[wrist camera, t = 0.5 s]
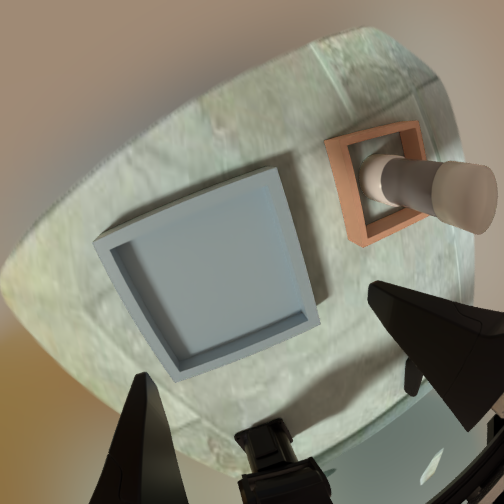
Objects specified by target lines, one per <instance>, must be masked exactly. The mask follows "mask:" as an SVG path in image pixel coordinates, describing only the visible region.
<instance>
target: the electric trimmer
mask: <svg viewBox="0 0 504 504" xmlns="http://www.w3.org/2000/svg"><path fill="white" fill-rule="evenodd" d="M422 378H423V374H422V373H421V371H420V370H419V369H418V368H417V366H416V365H415V364H414V363H413V362H412V360H411V359H410V358H409V359H408V360H407V361H406V366H405V382H404V390H405V392H406V393H408V394H409V395H410V396H412V397H414V396H416V395H417V393H418V390H419V387H420V384H421V381H422Z"/></svg>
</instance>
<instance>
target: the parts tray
mask: <svg viewBox="0 0 504 504" xmlns="http://www.w3.org/2000/svg"><path fill="white" fill-rule="evenodd" d="M92 244H93V246H94V248H95V250H96V252H97V254H98V256H99V258H100V260H101V262H102V264H103V266H104V268H105V270H106V272H107V274H108V276H109V278H110V280H111V282H112V284H113V285H114V287H115V289H116V291H117V293H118V294H119V296H120V298H121V300H122V302H123V303H124V305H125V307H126V309H127V310H128V312H129V314H130V315H131V317H132V319H133V320H134V322H135V324H136V325H137V327H138V329H139V330H140V332H141V333H142V335H143V337H144V338H145V340H146V341H147V343H148V344H149V346H150V347H151V349H152V350H153V352H154V354H155V355H156V357H157V358H158V359H159V361H160V362H161V364H162V365H163V367H164V368H165V370H166V371H167V372H168V374H169V375H170V377H171V378H172V380H173V381H174V382H175V383H176V382H179V381H182V380H185V379H188V378H191V377H194V376H197V375H200V374H202V373H205V372H208V371H211V370H214V369H216V368H219V367H222V366H224V365H227V364H230V363H232V362H235V361H237V360H240V359H242V358H245V357H247V356H250V355H252V354H255V353H257V352H260V351H262V350H264V349H267V348H269V347H272V346H274V345H276V344H279V343H281V342H283V341H285V340H288V339H290V338H292V337H294V336H297V335H299V334H301V333H303V332H305V331H307V330H310V329H312V328H314V327H316V326H318V325H320V324H321V323H320V319H319V315H318V311H317V307H316V303H315V299H314V295H313V292H312V288H311V284H310V280H309V276H308V273H307V269H306V265H305V262H304V258H303V254H302V251H301V247H300V244H299V240H298V237H297V233H296V230H295V226H294V223H293V219H292V216H291V213H290V209H289V206H288V203H287V199H286V196H285V193H284V189H283V186H282V183H281V180H280V177H279V173H278V170H277V167H270V166H266V167H263V168H260V169H257V170H254V171H251V172H248V173H246V174H243V175H240V176H237V177H234V178H232V179H229V180H226V181H224V182H221V183H218V184H216V185H213V186H210V187H208V188H205V189H203V190H200V191H198V192H195V193H193V194H190V195H188V196H185V197H183V198H180V199H178V200H175V201H173V202H171V203H168V204H166V205H163V206H161V207H159V208H156V209H154V210H152V211H149V212H147V213H145V214H143V215H140V216H138V217H136V218H134V219H131V220H129V221H127V222H125V223H123V224H121V225H118V226H116V227H114V228H112V229H110V230H108V231H106V232H104V233H101V234H100V235H99V236H98V237H97V238H96V239H95V240H94V241H93V242H92Z"/></svg>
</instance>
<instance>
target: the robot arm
mask: <svg viewBox="0 0 504 504" xmlns="http://www.w3.org/2000/svg"><path fill="white" fill-rule="evenodd" d="M367 300H368V304H369V305H370V307H371V308H372V310H373V311H374V313H375V314H376V315H377V317H378V318H379V320H380V321H381V323H382V324H383V326H384V327H385V329H386V330H387V331H388V333H389V334H390V335H391V336H392V337H393V339H394V340H395V341H396V342H397V343H398V345H399V346H400V347H401V348H402V349H403V351H404V352H405V353H406V354H407V355H408V357H409V358H410V359H411V360H412V362H413V363H414V364H415V365H416V366H417V368H418V369H419V370H420V371H421V373H422V374H423V375H424V376H425V378H426V379H427V380H428V381H429V383H430V384H431V385H432V386H433V388H434V389H435V390H436V391H437V393H438V394H439V395H440V397H441V398H442V399H443V401H444V402H445V403H446V405H447V406H448V407H449V409H451V411H452V412H453V413H454V415H455V416H456V418H457V419H458V420H459V422H460V423H461V424H462V426H463V427H464V429H465V430H466V431H467V432H469V431H470V430H471V429H472V428H473V427H474V426H475V425H476V424H477V423H478V422H479V421H480V420H481V419H482V417H483V416H484V415H485V414H486V413H487V412H488V411H489V410H490V409H492V410H493V411H494V412H495V413H496V414H495V415H494V416H493V417H492V418H491V420H490V421H489V422H488V423H487V427H488V428H487V446H486V447H485V448H484V450H482V452H481V453H480V454H479V455H478V456H477V457H476V458H475V459H474V460H473V461H472V462H471V463H470V464H469V465H468V466H467V467H466V468H465V469H464V470H463V471H462V472H461V473H460V474H459V475H458V476H457V477H456V478H455V479H454V480H453V481H452V482H451V483H449V484H448V485H447V486H446V487H445V488H444V489H443V490H441V492H439V493H438V494H437V495H436V496H434V497H433V498H432V499H431V500H429V501H428V502H427V503H426V504H461V503H462V502H463V501H465V500H467V501H468V503H467V504H504V312H498V311H493V310H488V309H483V308H478V307H473V306H469V305H465V304H461V303H458V302H454V301H453V302H452V301H450V300H447V299H443V298H440V297H436V296H433V295H429V294H426V293H422V292H419V291H415V290H411V289H408V288H404V287H401V286H397V285H394V284H390V283H386V282H383V281H379V280H377V281H375V282H372V283H371V284H370V285H369V288H368V298H367ZM234 439H235V441H236V442H237V443H238V444H239V445H240V447H241V448H242V449H243V450H244V451H245V453H246V454H247V458H248V461H249V464H250V468H251V471H252V473H251V474H243V475H242V478H243V479H241V480H239V481H238V486H239V490H240V493H241V497H242V501H243V504H333V503H332V501H331V499H330V497H331V488H330V484H329V482H328V480H327V478H326V476H325V474H324V473H323V472H322V470H321V469H320V467H319V466H318V464H317V463H316V462H315V460H314V459H313V457H309V458H308V459H305V460H301V461H298V460H297V457H296V455H295V453H294V451H293V448H292V446H291V444H290V443H292V442H293V439H292V437H291V435H290V433H289V431H288V429H287V427H286V425H285V423H284V421H283V419H277V420H274V421H272V422H269V423H267V424H264V425H261V426H259V427H256V428H253V429H251V430H248V431H245V432H242V433H239V434H236V435H235V436H234ZM108 453H109V454H108V455H107V458H106V461H105V464H104V467H103V470H102V473H101V476H100V478H99V481H98V484H97V486H96V488H95V490H94V493H93V495H92V497H91V500H90V502H89V504H189V503H188V499H187V496H186V492H185V489H184V485H183V482H182V478H181V474H180V470H179V467H178V462H177V459H176V454H175V450H174V446H173V441H172V436H171V432H170V427H169V424H168V421H167V417H166V414H165V411H164V408H163V405H162V402H161V398H160V395H159V392H158V389H157V386H156V384H155V383H154V381H153V380H152V379H151V377H150V376H149V374H148V373H147V372H142V373H139V374H136V375H135V377H134V380H133V382H132V385H131V388H130V391H129V393H128V396H127V399H126V402H125V404H124V407H123V410H122V413H121V416H120V419H119V421H118V424H117V427H116V430H115V433H114V436H113V439H112V442H111V446H110V449H109V452H108Z"/></svg>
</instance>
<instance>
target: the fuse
mask: <svg viewBox="0 0 504 504" xmlns="http://www.w3.org/2000/svg"><path fill="white" fill-rule="evenodd" d="M359 184H360V188H361V190H362V192H363V193H364V195H365V196H366V197H368V198H369V199H371V200H374V201H377V202H381V203H384V204H388V205H391V206H395V207H398V206H403V207H406V208H409V209H412V210H416V211H419V212H422V213H425V214H428V215H431V216H435V217H437V218H438V219H439V220H440V221H442V222H444V223H446V224H449V225H452V226H455V227H458V228H460V229H463V230H466V231H468V232H471V233H474V234H477V235H479V234H482V233H484V232H485V231H486V230H487V229H488V228H489V226H490V224H491V223H492V220H493V218H494V215H495V211H496V207H497V198H498V193H497V183H496V179H495V176H494V174H493V172H492V171H491V169H490V168H489V167H487V166H483V165H477V164H470V163H464V162H457V161H446V162H444V163H443V162H435V161H426V160H417V159H407V158H405V157H403V156H399V155H385V154H373V155H370V156H369V157H367V158H366V159H365V160H364V162H363V163H362V165H361V167H360V171H359Z"/></svg>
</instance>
